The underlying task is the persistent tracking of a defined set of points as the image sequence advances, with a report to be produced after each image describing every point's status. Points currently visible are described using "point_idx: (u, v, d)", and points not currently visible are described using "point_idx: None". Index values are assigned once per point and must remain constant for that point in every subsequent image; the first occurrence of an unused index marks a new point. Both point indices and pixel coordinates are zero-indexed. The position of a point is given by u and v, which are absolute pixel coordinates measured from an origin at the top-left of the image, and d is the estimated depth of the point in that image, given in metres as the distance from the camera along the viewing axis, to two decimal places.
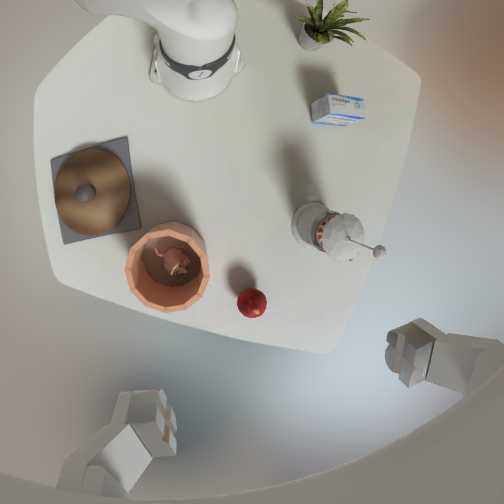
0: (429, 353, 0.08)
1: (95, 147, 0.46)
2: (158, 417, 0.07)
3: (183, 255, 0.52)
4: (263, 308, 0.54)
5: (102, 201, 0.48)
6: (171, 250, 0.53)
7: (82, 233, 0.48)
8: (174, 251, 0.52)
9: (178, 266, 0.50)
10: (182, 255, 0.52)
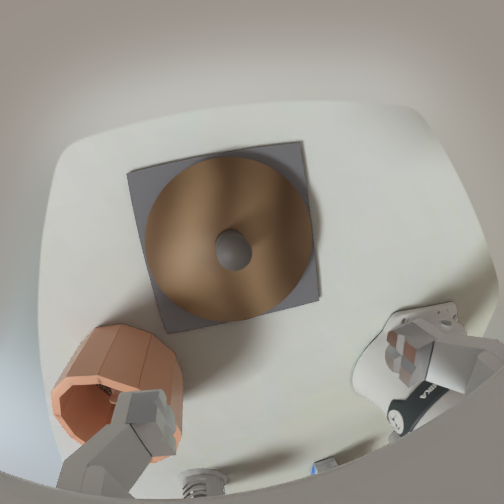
0: (429, 353, 0.08)
1: (311, 244, 0.31)
2: (158, 417, 0.07)
3: None
4: None
5: (212, 272, 0.28)
6: None
7: (148, 227, 0.26)
8: None
9: None
10: None
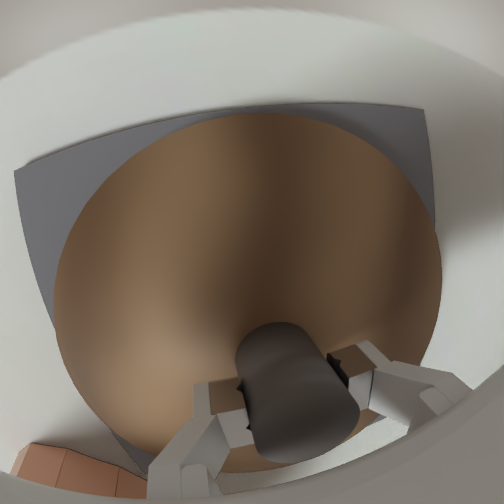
0: (368, 381, 0.07)
1: None
2: None
3: None
4: None
5: None
6: None
7: (59, 315, 0.08)
8: None
9: None
10: None
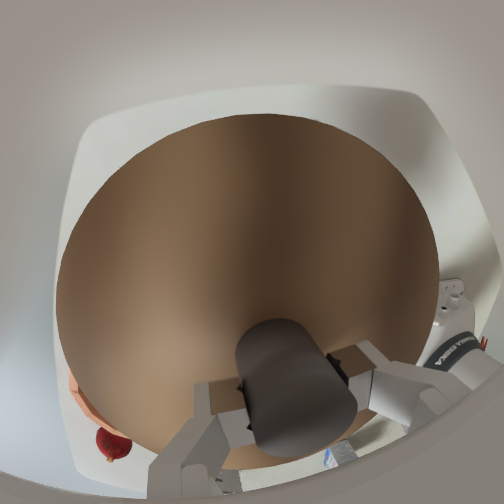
0: (368, 381, 0.07)
1: None
2: (245, 403, 0.07)
3: None
4: None
5: None
6: None
7: (62, 311, 0.08)
8: None
9: None
10: None
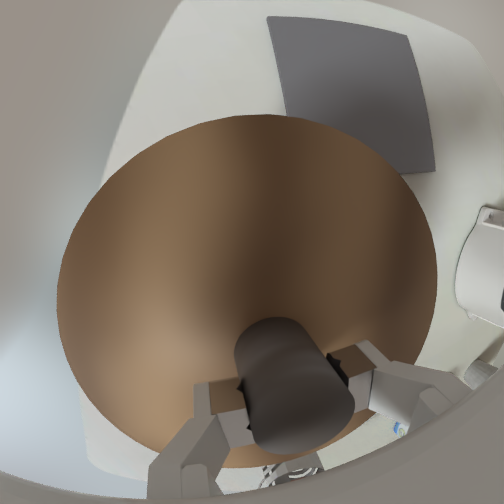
0: (368, 381, 0.07)
1: (426, 115, 0.25)
2: (245, 403, 0.07)
3: None
4: None
5: None
6: None
7: (62, 310, 0.09)
8: None
9: None
10: None
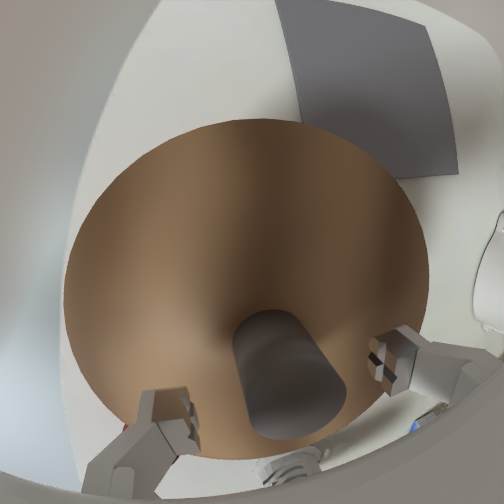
0: (411, 362, 0.07)
1: (448, 112, 0.21)
2: (185, 413, 0.07)
3: None
4: None
5: (225, 397, 0.11)
6: None
7: (69, 303, 0.09)
8: None
9: None
10: None
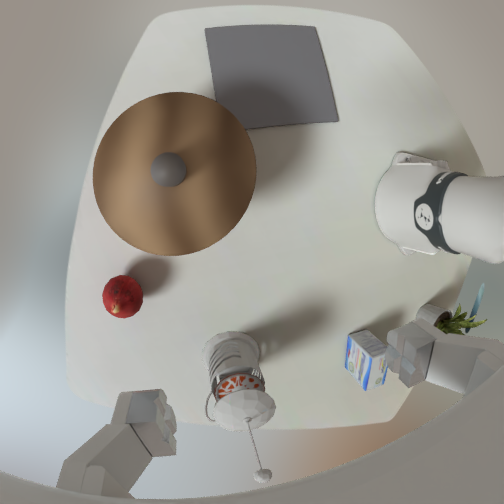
0: (429, 353, 0.08)
1: (327, 81, 0.37)
2: (158, 416, 0.07)
3: None
4: (119, 316, 0.33)
5: (153, 201, 0.27)
6: None
7: (97, 159, 0.24)
8: None
9: None
10: None
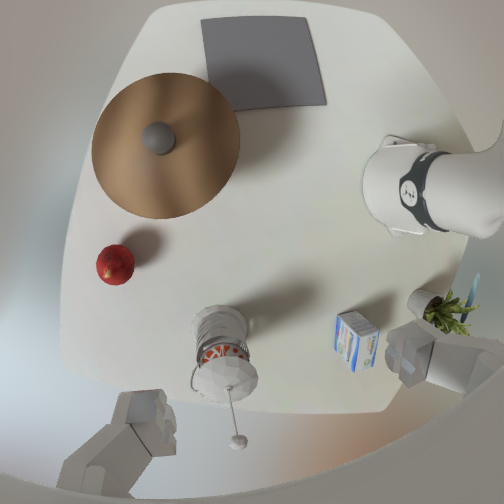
0: (429, 353, 0.08)
1: (316, 67, 0.38)
2: (158, 417, 0.07)
3: None
4: (111, 282, 0.35)
5: (145, 168, 0.28)
6: None
7: (96, 131, 0.26)
8: None
9: None
10: None
